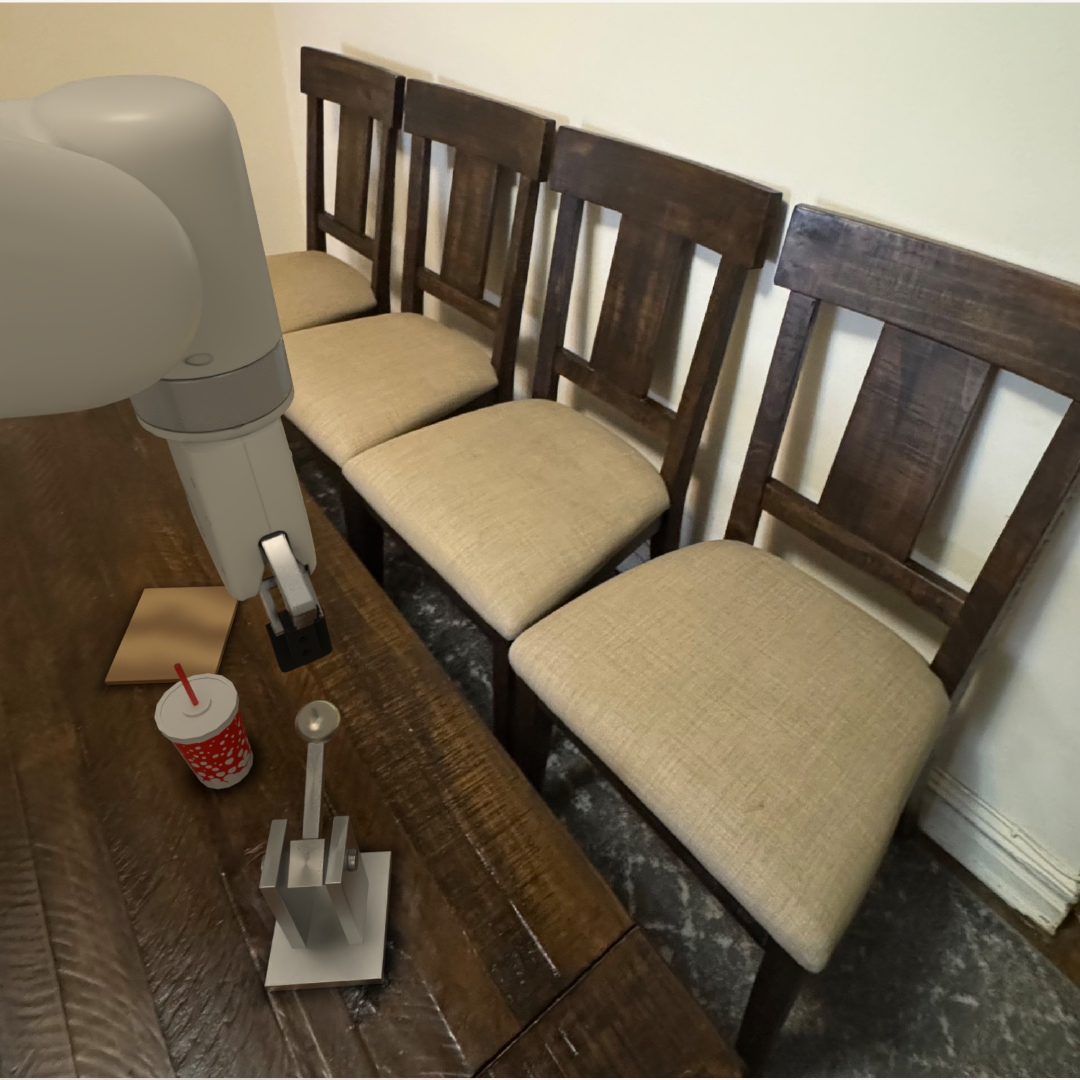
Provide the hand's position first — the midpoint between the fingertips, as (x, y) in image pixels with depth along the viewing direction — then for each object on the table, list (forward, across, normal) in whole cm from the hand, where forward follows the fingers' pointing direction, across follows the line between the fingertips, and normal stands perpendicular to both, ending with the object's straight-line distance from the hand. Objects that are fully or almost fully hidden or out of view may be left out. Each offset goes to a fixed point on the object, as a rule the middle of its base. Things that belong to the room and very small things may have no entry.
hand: (279, 608), depth 48 cm
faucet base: (+23, +10, -4) cm, 25 cm away
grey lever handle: (+12, +6, -2) cm, 14 cm away
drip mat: (+23, -24, -7) cm, 34 cm away
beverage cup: (+23, -7, -7) cm, 25 cm away
